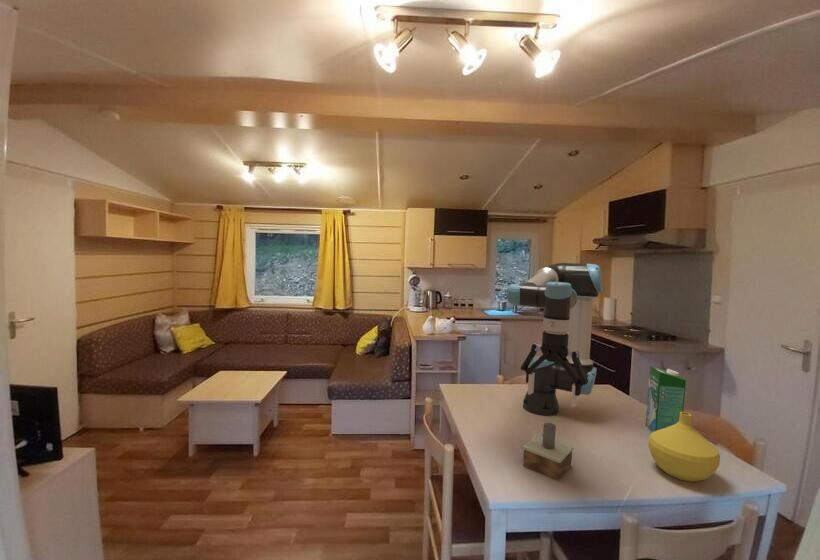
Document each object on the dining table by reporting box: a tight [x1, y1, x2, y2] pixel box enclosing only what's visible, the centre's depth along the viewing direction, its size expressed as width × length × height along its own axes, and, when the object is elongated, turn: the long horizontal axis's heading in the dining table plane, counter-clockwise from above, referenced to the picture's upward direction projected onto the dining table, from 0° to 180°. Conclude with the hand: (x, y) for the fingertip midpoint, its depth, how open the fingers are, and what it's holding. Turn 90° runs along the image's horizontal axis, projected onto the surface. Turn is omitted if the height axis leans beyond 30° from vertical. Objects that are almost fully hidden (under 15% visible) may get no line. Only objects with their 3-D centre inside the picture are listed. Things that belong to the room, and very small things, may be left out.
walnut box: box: [522, 449, 573, 481], centre depth 120 cm, size 11×11×6 cm
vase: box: [648, 411, 721, 483], centre depth 120 cm, size 18×18×19 cm
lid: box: [522, 422, 575, 463], centre depth 120 cm, size 12×12×9 cm
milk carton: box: [645, 365, 687, 433], centre depth 148 cm, size 9×9×25 cm
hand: (551, 399), depth 119 cm, fingers open, 13 cm apart
